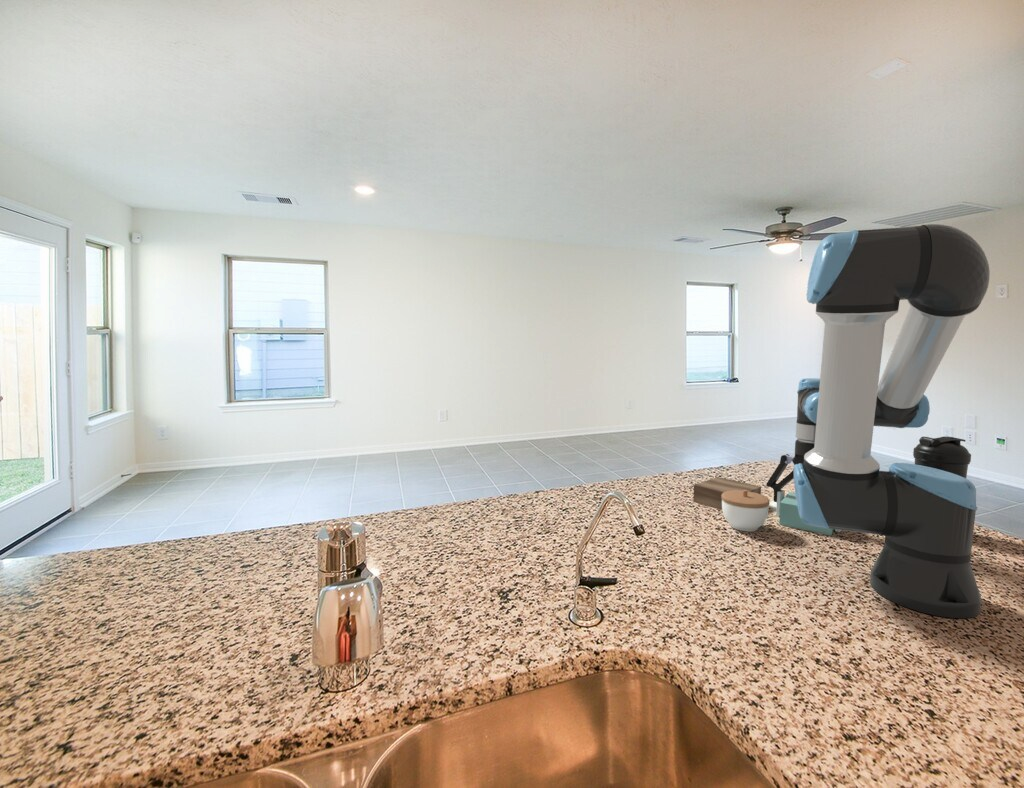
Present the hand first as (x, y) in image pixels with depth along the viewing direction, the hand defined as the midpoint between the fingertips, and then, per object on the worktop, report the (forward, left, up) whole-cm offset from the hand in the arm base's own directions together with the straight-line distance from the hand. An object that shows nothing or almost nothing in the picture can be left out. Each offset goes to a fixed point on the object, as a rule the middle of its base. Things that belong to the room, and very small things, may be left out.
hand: (808, 522), depth 121 cm
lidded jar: (-15, +9, 0) cm, 18 cm away
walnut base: (-1, +21, 0) cm, 21 cm away
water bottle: (+18, -21, 0) cm, 28 cm away
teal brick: (0, 0, 0) cm, 0 cm away
